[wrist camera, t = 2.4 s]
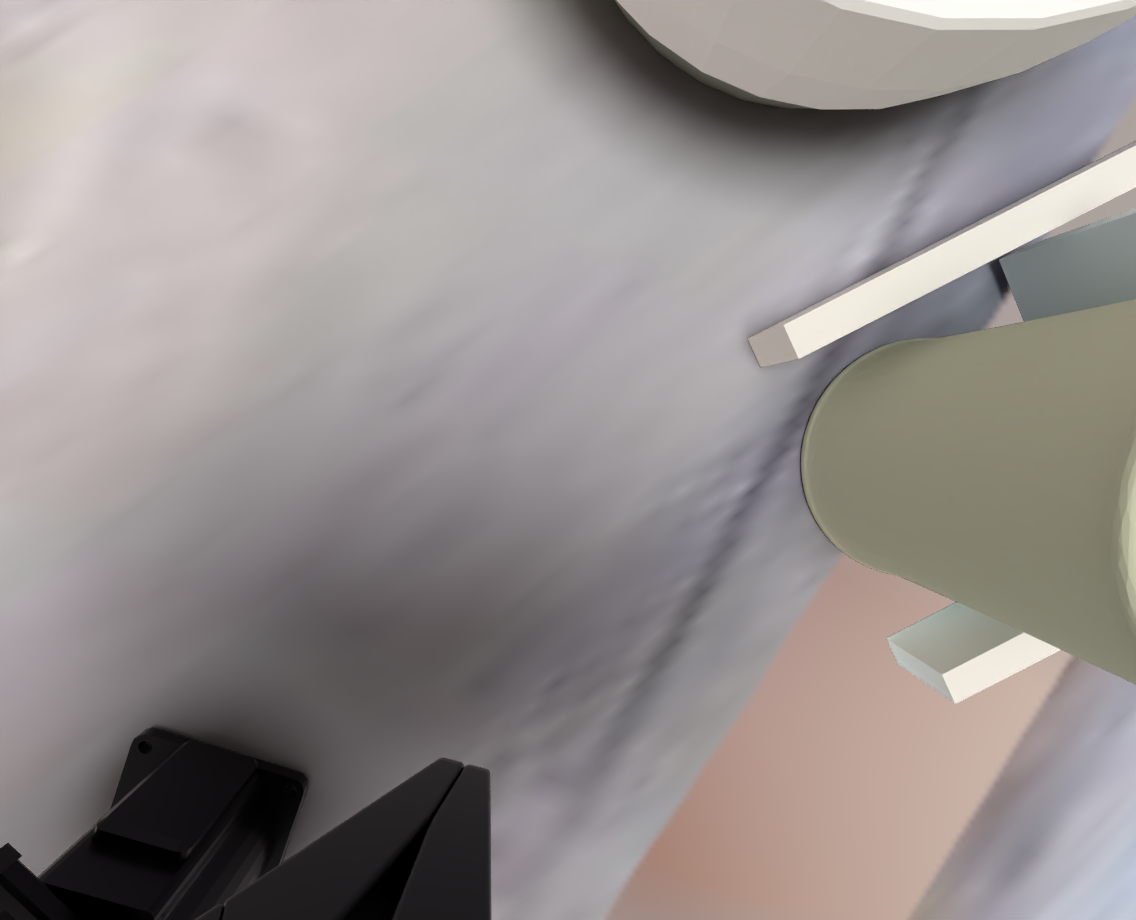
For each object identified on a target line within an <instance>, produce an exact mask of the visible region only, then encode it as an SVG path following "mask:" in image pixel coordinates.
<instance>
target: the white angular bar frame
mask: <svg viewBox="0 0 1136 920" xmlns="http://www.w3.org/2000/svg"><path fill="white" fill-rule="evenodd" d="M1135 187H1136V141H1134V142H1132V143H1130V144H1128V145H1126V146H1124V147H1122V148H1120V149H1118V150H1116V151H1114V152H1112V153H1110V154H1109V155H1107V156H1105V157H1103V158H1101V159H1099V160H1097V161H1095V162H1093V163H1091V164H1089V165H1087V166H1085V167H1083V168H1081V169H1079V170H1077V171H1075V172H1073V173H1071V174H1069V175H1067V176H1065V177H1063V178H1061V179H1060V180H1058V181H1056V182H1054V183H1052V184H1050V185H1048V186H1046V187H1044V188H1042V189H1040V190H1038V191H1036V192H1034V193H1032V194H1030V195H1028V196H1026V197H1024V198H1022V199H1020V200H1018V201H1016V202H1014V203H1012V204H1010V205H1009V206H1007V207H1005V208H1003V209H1001V210H999V211H997V212H995V213H993V214H991V215H989V216H987V217H985V218H983V219H981V220H979V221H977V222H975V223H973V224H971V225H969V226H967V227H965V228H963V229H961V230H960V231H958V232H956V233H954V234H952V235H950V236H948V237H946V238H944V239H942V240H940V241H938V242H936V243H934V244H932V245H930V246H928V247H926V248H924V249H922V250H920V251H918V252H916V253H914V254H912V255H910V256H909V257H907V258H905V259H903V260H901V261H899V262H897V263H895V264H893V265H891V266H889V267H887V268H885V269H883V270H881V271H879V272H877V273H875V274H873V275H871V276H869V277H867V278H865V279H863V280H861V281H860V282H858V283H856V284H854V285H852V286H850V287H848V288H846V289H844V290H842V291H840V292H838V293H836V294H834V295H832V296H830V297H828V298H826V299H824V300H822V301H820V302H818V303H816V304H814V305H812V306H810V307H809V308H807V309H805V310H803V311H801V312H799V313H797V314H795V315H793V316H791V317H789V318H787V319H785V320H783V321H781V322H779V323H777V324H775V325H773V326H771V327H769V328H767V329H765V330H763V331H761V332H760V333H758V334H756V335H754V336H752V337H750V338H748V341H749V343H750V345H751V347H752V349H753V352H754V354H755V356H756V358H757V360H758V362H759V365H760V367H765V366H769V365H774V364H778V363H783V362H787V361H792V360H796V359H800V358H802V357H804V356H806V355H808V354H810V353H812V352H813V351H815V350H817V349H819V348H821V347H823V346H825V345H827V344H829V343H831V342H833V341H835V340H837V339H839V338H841V337H843V336H845V335H847V334H849V333H851V332H853V331H855V330H857V329H859V328H861V327H862V326H864V325H866V324H868V323H870V322H872V321H874V320H876V319H878V318H880V317H882V316H884V315H886V314H888V313H890V312H892V311H894V310H896V309H898V308H900V307H902V306H904V305H906V304H908V303H910V302H911V301H913V300H915V299H917V298H919V297H921V296H923V295H925V294H927V293H929V292H931V291H933V290H935V289H937V288H939V287H941V286H943V285H945V284H947V283H949V282H951V281H953V280H955V279H957V278H958V277H960V276H962V275H964V274H966V273H968V272H970V271H972V270H974V269H976V268H978V267H980V266H982V265H984V264H986V263H988V262H990V261H992V260H994V259H996V258H998V257H1000V256H1002V255H1004V254H1006V253H1007V252H1009V251H1011V250H1013V249H1015V248H1017V247H1019V246H1021V245H1023V244H1025V243H1027V242H1029V241H1031V240H1033V239H1035V238H1037V237H1039V236H1041V235H1043V234H1045V233H1047V232H1049V231H1051V230H1053V229H1055V228H1056V227H1058V226H1060V225H1062V224H1064V223H1066V222H1068V221H1070V220H1072V219H1074V218H1076V217H1078V216H1080V215H1082V214H1084V213H1086V212H1088V211H1090V210H1092V209H1094V208H1096V207H1098V206H1099V205H1101V204H1104V203H1105V202H1107V201H1109V200H1111V199H1113V198H1115V197H1117V196H1119V195H1121V194H1123V193H1125V192H1127V191H1129V190H1131V189H1133V188H1135ZM886 640H887V641H888V644H889V646H890V648H891V650H892V652H893V654H894V657H895V659H896V661H897V663H898V664H899V665H900V666H902V667H903V668H905V669H906V670H908V671H909V672H910V673H912V674H913V675H915V676H916V677H917V678H919V679H920V680H922V681H923V682H925V683H926V684H928V685H929V686H930V687H932V688H933V689H935V690H936V691H937V692H939V693H940V694H942V695H943V696H945V697H946V698H948V699H949V700H950V701H952V702H953V703H955V704H956V703H958V702H960V701H962V700H964V699H966V698H968V697H970V696H972V695H974V694H976V693H978V692H980V691H982V690H984V689H985V688H987V687H989V686H991V685H993V684H995V683H997V682H999V681H1001V680H1003V679H1005V678H1007V677H1009V676H1011V675H1013V674H1015V673H1017V672H1019V671H1021V670H1023V669H1024V668H1026V667H1028V666H1030V665H1032V664H1034V663H1036V662H1038V661H1040V660H1042V659H1044V658H1046V657H1048V656H1050V655H1052V654H1054V653H1056V652H1058V651H1060V650H1061V649H1058V648H1056V647H1054V646H1052V645H1050V644H1048V643H1046V642H1043V641H1041V640H1039V639H1037V638H1035V637H1033V636H1031V635H1028V634H1026V633H1024V632H1022V631H1020V630H1017V629H1015V628H1013V627H1011V626H1009V625H1006V624H1004V623H1002V622H1000V621H998V620H995V619H993V618H991V617H989V616H987V615H984V614H982V613H980V612H978V611H976V610H973V609H971V608H969V607H967V606H965V605H962V604H960V603H958V602H955V603H953V604H952V605H950V606H948V607H946V608H944V609H942V610H940V611H938V612H936V613H934V614H932V615H930V616H928V617H926V618H924V619H922V620H920V621H918V622H917V623H915V624H913V625H910V626H909V627H907V628H905V629H903V630H901V631H899V632H897V633H895V634H893V635H891V636H889V637H887V638H886Z"/></svg>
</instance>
